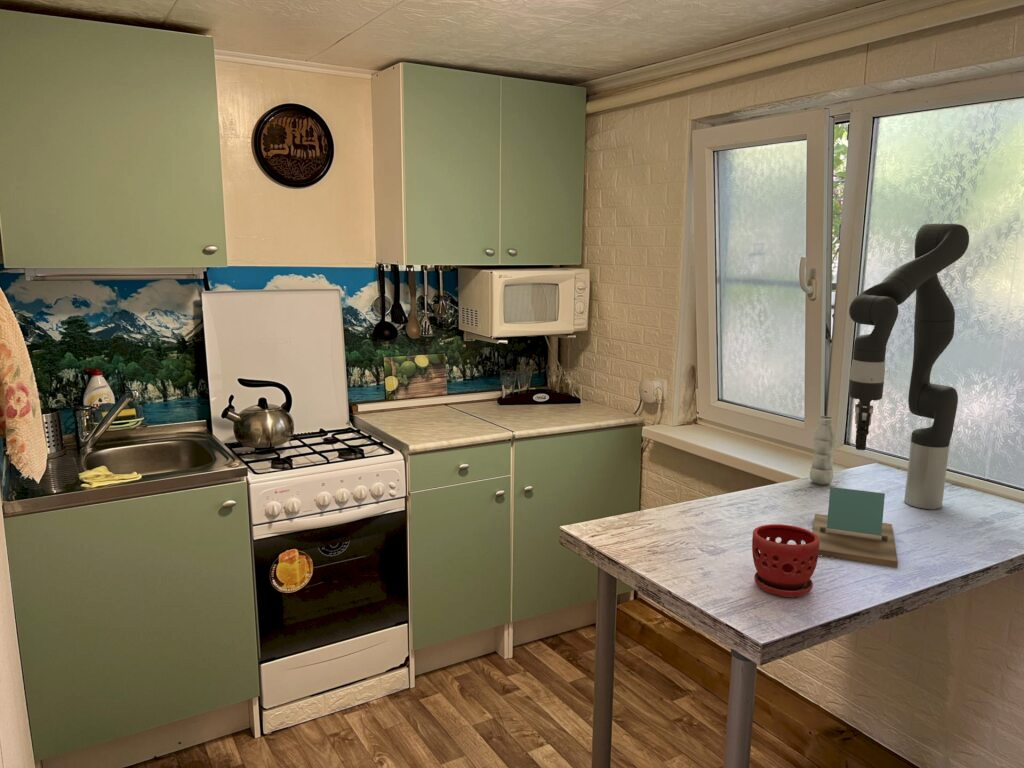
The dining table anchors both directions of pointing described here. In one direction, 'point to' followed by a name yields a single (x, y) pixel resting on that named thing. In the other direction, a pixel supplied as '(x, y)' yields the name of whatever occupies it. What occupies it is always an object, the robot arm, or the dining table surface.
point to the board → (856, 544)
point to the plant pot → (784, 559)
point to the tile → (855, 511)
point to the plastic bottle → (823, 452)
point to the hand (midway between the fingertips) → (860, 446)
